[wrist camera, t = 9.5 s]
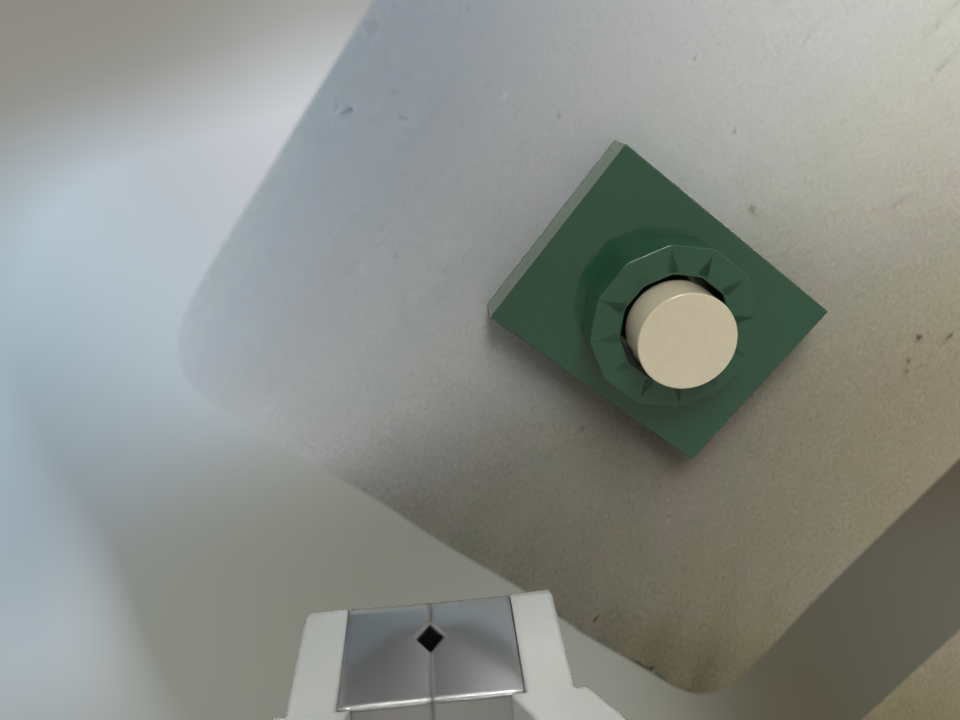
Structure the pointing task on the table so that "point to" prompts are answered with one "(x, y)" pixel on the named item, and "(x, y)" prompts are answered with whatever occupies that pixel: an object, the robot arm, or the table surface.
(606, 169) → the green peg board
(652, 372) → the cream short cylinder
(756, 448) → the table surface
